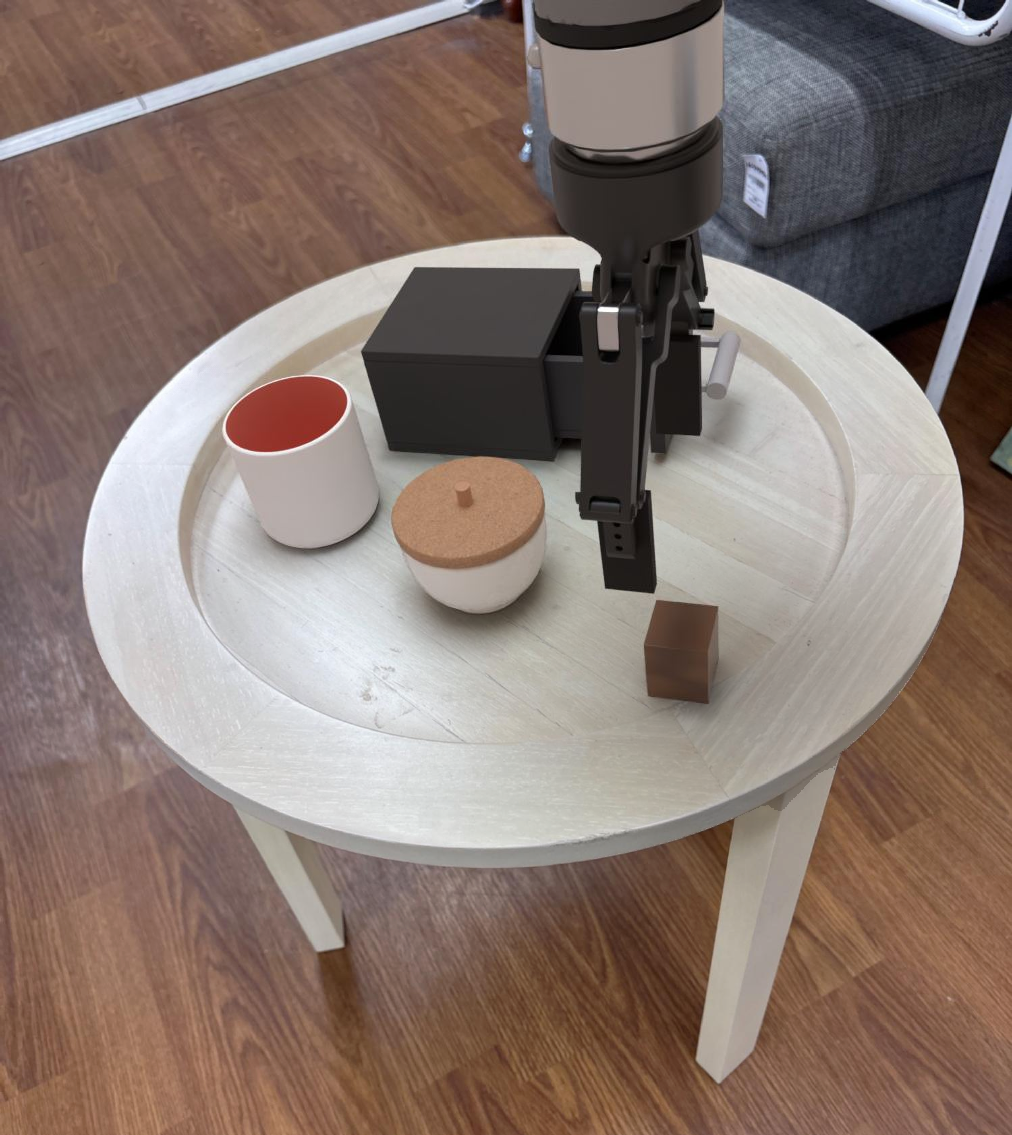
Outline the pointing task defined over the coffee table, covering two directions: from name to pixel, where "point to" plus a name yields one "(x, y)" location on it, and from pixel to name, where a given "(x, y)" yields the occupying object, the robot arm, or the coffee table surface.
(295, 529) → the cup
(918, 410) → the coffee table surface
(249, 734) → the coffee table surface
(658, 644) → the block
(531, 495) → the trinket box
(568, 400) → the pull-out drawer
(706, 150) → the robot arm
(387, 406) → the dark drawer box
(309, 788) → the coffee table surface
